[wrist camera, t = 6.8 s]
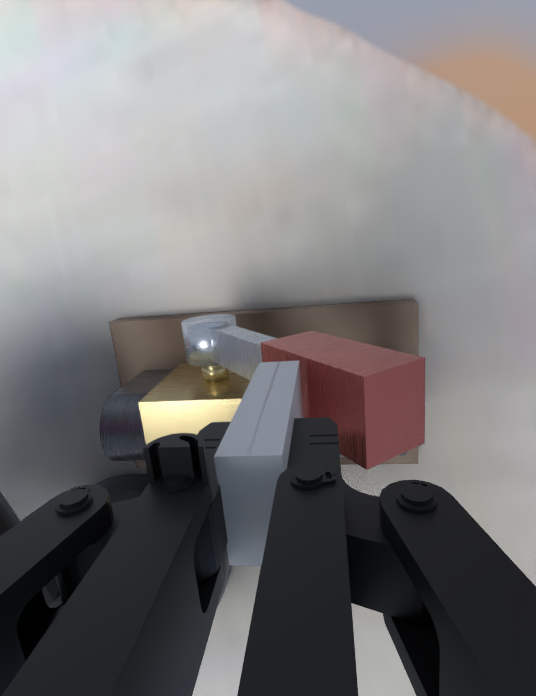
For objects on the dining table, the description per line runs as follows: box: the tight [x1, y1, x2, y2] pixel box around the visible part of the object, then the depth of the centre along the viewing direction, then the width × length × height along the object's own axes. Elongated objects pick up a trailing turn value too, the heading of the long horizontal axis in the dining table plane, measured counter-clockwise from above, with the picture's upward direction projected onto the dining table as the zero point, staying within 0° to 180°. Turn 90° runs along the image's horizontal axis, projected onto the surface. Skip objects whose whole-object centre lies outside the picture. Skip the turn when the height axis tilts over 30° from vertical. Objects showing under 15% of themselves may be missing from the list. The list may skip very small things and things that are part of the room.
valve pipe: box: [100, 364, 407, 461], centre depth 27 cm, size 18×7×8 cm, turn 95°
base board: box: [109, 299, 418, 467], centre depth 32 cm, size 22×12×2 cm, turn 95°
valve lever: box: [181, 314, 425, 470], centre depth 20 cm, size 3×3×16 cm
